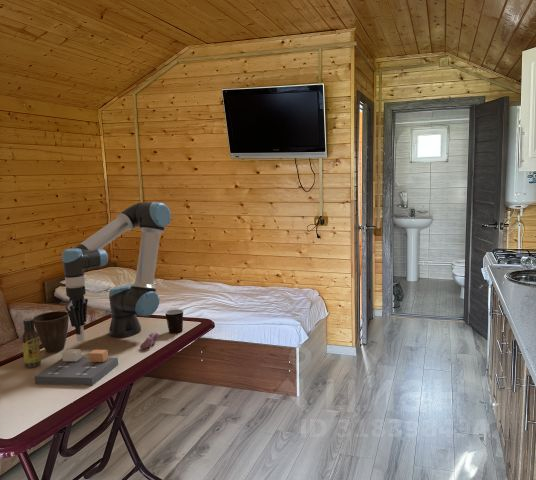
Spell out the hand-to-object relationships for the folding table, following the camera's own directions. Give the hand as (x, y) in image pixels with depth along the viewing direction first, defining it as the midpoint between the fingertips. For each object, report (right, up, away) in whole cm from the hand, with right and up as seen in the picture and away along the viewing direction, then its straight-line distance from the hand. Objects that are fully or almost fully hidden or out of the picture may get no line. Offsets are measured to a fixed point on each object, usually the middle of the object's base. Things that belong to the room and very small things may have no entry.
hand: (80, 340), depth 214 cm
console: (+4, -10, -13) cm, 17 cm away
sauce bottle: (-19, -10, -1) cm, 22 cm away
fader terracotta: (+11, -6, -9) cm, 15 cm away
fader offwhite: (-1, -6, -7) cm, 9 cm away
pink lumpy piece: (+26, -5, +15) cm, 30 cm away
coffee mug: (+34, -2, +31) cm, 46 cm away
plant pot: (-18, -8, +16) cm, 25 cm away
